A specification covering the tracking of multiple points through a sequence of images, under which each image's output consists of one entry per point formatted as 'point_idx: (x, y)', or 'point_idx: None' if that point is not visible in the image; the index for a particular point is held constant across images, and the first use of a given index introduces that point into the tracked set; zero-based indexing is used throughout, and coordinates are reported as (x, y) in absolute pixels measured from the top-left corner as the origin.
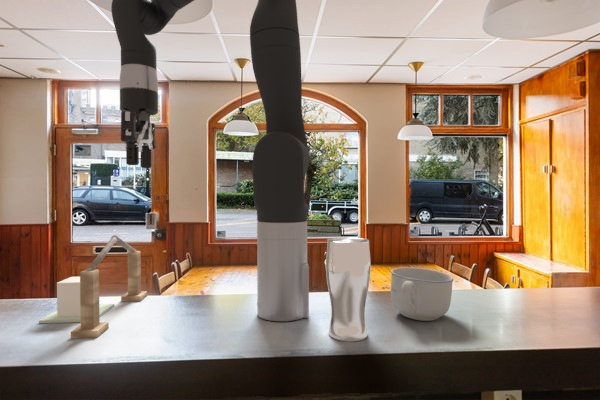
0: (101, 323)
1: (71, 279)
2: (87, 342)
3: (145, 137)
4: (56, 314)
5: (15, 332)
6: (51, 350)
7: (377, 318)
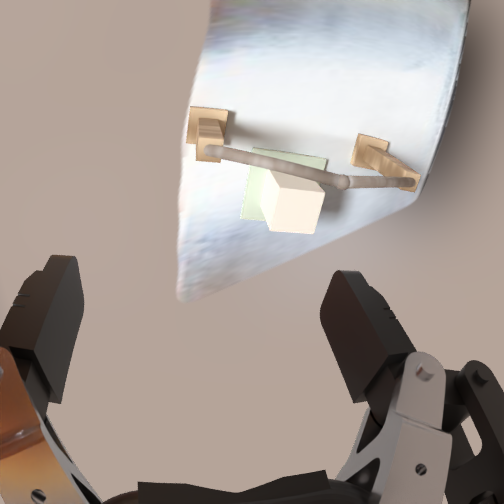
0: (363, 143)
1: (295, 222)
2: (394, 147)
3: (193, 495)
4: None
5: (332, 232)
6: None
7: None
